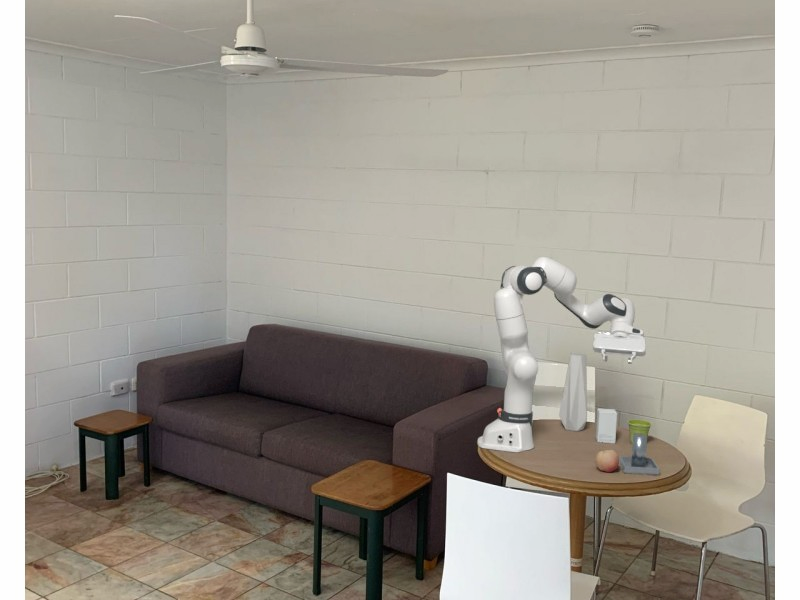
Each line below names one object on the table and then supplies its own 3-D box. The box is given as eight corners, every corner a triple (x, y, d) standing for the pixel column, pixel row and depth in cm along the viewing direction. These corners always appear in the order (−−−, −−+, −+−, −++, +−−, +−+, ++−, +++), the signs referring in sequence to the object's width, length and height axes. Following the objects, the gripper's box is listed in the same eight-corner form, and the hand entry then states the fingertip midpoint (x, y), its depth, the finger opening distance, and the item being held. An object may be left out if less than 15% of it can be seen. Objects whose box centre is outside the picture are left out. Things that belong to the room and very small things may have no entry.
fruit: (604, 466, 280) (606, 445, 279) (622, 472, 274) (624, 450, 273) (590, 469, 276) (591, 448, 275) (608, 476, 269) (609, 454, 268)
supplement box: (615, 443, 308) (617, 413, 307) (597, 442, 309) (598, 412, 308) (613, 438, 315) (615, 409, 314) (595, 437, 317) (597, 407, 315)
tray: (624, 473, 273) (624, 466, 272) (618, 462, 285) (619, 455, 284) (659, 475, 271) (659, 468, 271) (652, 464, 283) (652, 458, 283)
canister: (632, 468, 276) (634, 437, 274) (630, 464, 281) (631, 433, 279) (646, 469, 275) (648, 437, 274) (644, 465, 280) (645, 433, 279)
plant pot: (651, 447, 304) (653, 426, 303) (627, 445, 306) (628, 424, 305) (648, 440, 314) (650, 420, 312) (625, 438, 315) (626, 418, 314)
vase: (577, 434, 319) (582, 358, 315) (555, 428, 328) (559, 353, 324) (594, 429, 327) (598, 355, 324) (571, 423, 336) (575, 350, 332)
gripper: (594, 326, 306) (590, 354, 298) (647, 331, 299) (644, 359, 291) (595, 336, 311) (590, 363, 303) (647, 340, 303) (644, 368, 295)
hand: (617, 361), depth 297 cm, fingers open, 8 cm apart
